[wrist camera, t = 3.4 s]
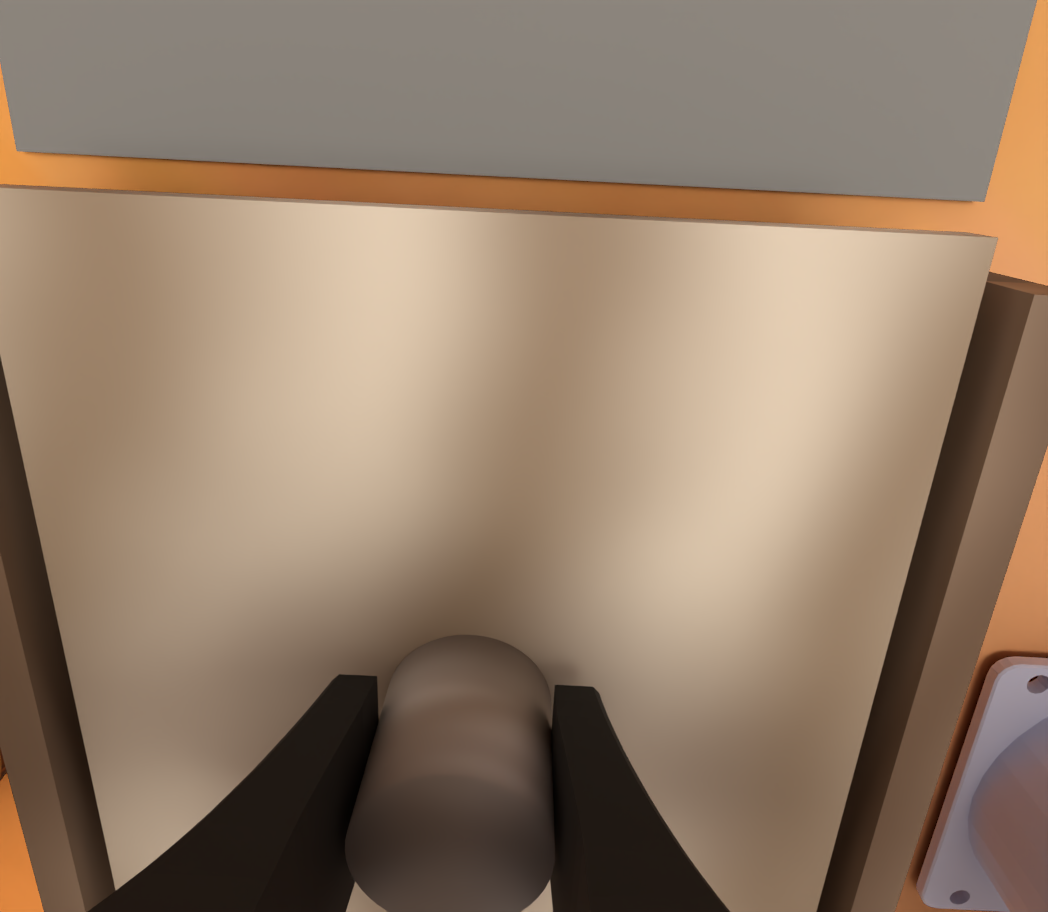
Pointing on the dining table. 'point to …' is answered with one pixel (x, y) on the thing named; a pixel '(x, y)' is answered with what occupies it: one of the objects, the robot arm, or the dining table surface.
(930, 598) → the slide box
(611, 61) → the mat
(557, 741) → the robot arm
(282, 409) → the cover plate
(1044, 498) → the dining table surface
